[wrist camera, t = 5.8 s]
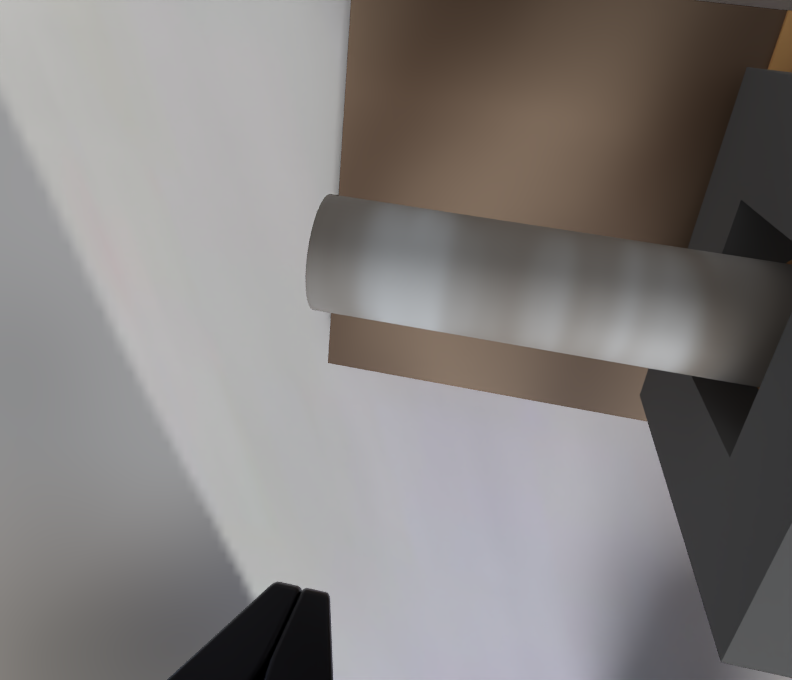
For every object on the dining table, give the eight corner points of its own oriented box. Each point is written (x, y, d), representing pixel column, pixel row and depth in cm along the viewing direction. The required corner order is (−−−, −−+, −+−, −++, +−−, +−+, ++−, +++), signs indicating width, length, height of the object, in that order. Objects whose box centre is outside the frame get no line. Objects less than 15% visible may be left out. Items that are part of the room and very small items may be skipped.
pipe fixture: (1106, 47, 14) (2042, 84, 5) (884, 447, 19) (1185, 804, 10) (363, -34, 16) (167, -105, 7) (336, 348, 21) (200, 579, 12)
